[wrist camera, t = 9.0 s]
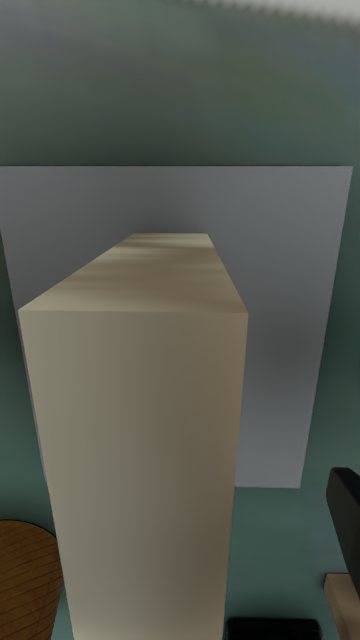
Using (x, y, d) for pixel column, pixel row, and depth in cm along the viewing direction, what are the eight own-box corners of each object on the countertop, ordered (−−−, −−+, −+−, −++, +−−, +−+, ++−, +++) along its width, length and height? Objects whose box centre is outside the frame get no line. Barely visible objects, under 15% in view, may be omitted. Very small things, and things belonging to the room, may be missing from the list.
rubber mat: (51, 471, 19) (45, 482, 19) (0, 167, 14) (-11, 165, 13) (295, 476, 19) (299, 488, 18) (343, 168, 13) (352, 166, 13)
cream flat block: (143, 448, 18) (91, 737, 8) (134, 232, 14) (17, 310, 4) (200, 449, 17) (213, 742, 8) (207, 233, 14) (248, 313, 4)
